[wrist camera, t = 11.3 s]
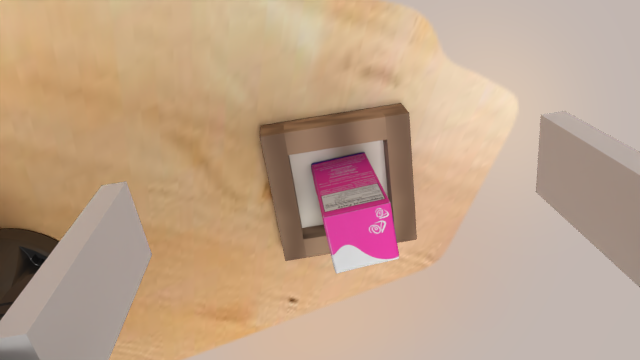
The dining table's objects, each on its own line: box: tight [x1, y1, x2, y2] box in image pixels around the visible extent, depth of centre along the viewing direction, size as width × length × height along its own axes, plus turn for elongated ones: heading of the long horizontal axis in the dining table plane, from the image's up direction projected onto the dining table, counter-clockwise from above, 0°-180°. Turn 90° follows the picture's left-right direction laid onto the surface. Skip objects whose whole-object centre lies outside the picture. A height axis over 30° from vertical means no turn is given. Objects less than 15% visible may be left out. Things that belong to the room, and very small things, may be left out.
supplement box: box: [311, 152, 399, 273], centre depth 44 cm, size 6×6×12 cm
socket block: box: [260, 103, 417, 261], centre depth 49 cm, size 14×14×3 cm
